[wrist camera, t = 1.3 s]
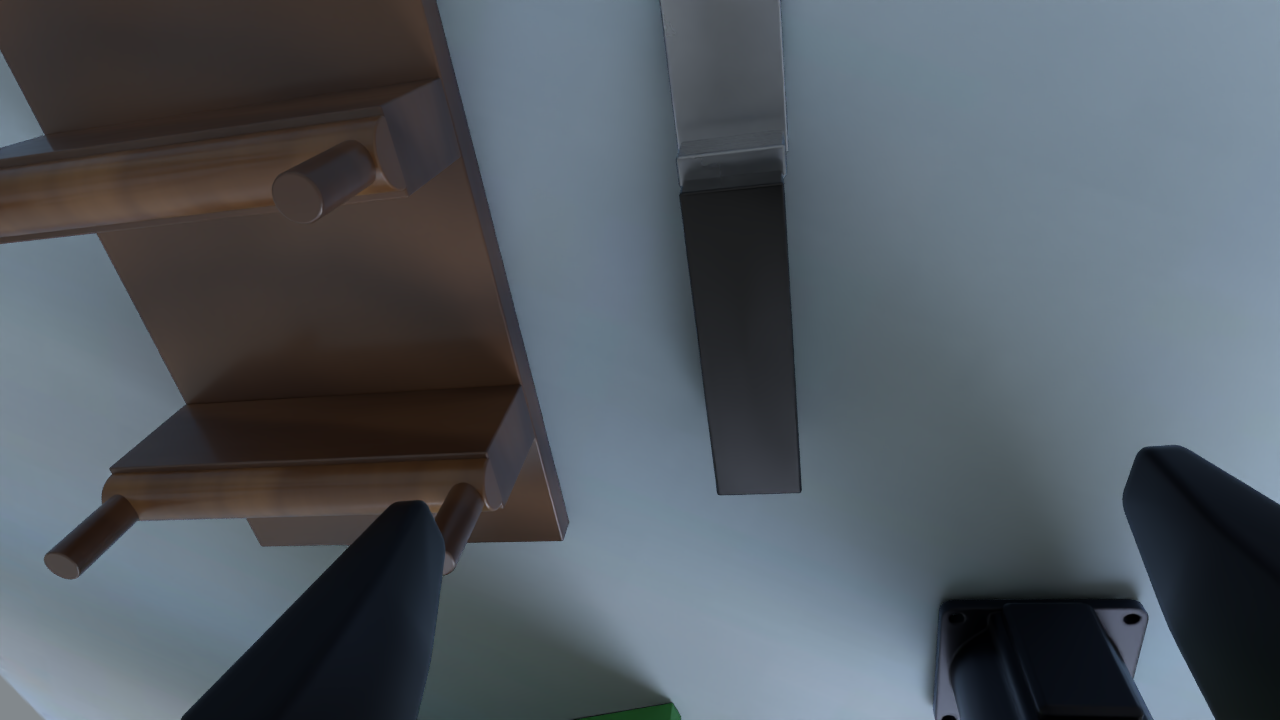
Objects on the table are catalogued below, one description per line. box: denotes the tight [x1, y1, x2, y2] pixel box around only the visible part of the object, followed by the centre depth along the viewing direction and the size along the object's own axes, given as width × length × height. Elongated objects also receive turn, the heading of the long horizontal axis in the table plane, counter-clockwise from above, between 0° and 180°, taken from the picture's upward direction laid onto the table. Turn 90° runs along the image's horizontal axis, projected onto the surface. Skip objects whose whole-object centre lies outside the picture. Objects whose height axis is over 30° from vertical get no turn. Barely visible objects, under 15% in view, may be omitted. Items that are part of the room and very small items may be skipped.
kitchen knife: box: [659, 0, 802, 495], centre depth 18 cm, size 20×3×3 cm, turn 9°
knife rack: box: [0, 0, 569, 579], centre depth 20 cm, size 20×12×8 cm, turn 9°
